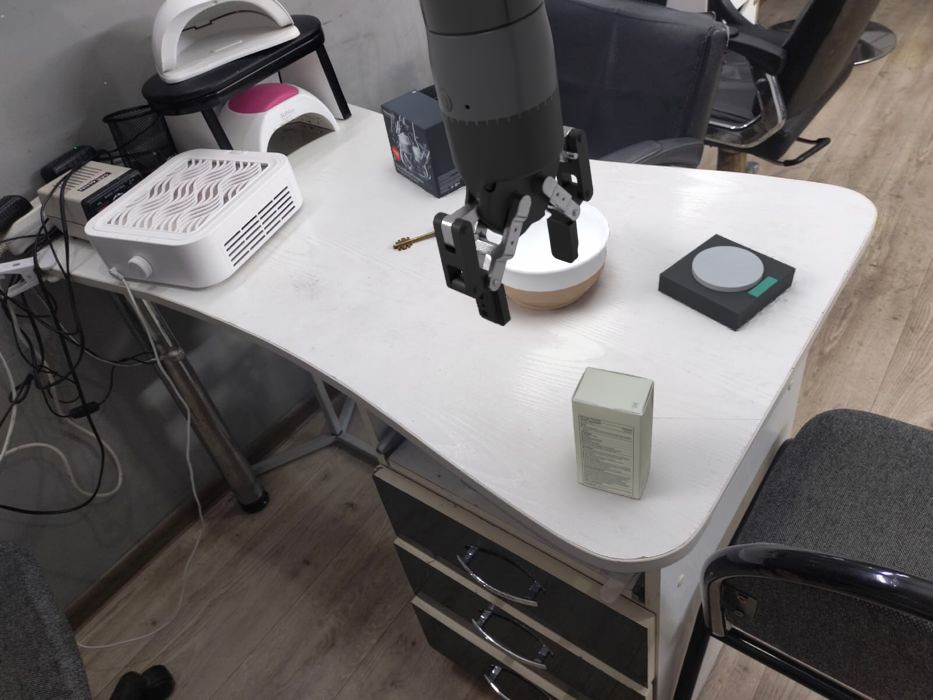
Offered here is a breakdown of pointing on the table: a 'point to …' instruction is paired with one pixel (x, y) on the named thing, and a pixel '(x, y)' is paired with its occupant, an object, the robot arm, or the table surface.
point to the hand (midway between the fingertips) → (533, 288)
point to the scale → (726, 281)
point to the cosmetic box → (613, 430)
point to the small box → (420, 142)
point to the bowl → (554, 263)
